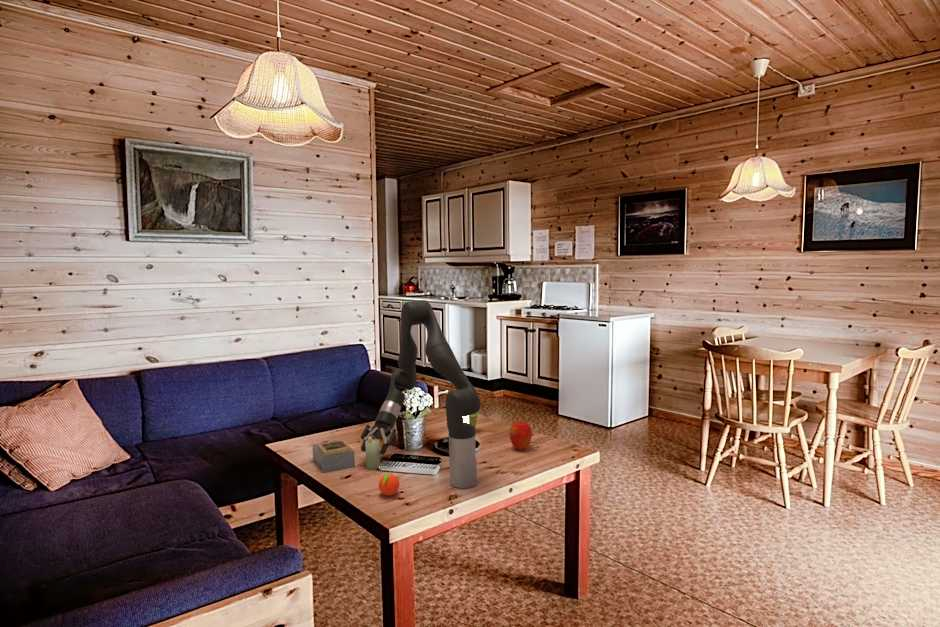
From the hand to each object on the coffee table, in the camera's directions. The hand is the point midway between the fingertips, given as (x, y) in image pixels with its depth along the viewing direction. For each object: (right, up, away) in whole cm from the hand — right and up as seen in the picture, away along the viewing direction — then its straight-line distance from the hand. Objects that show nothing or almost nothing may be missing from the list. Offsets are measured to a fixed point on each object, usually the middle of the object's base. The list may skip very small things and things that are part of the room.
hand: (371, 452), depth 215 cm
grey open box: (-16, -5, +6) cm, 18 cm away
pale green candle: (0, -6, +1) cm, 6 cm away
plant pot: (+36, -1, +40) cm, 54 cm away
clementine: (+10, -9, -24) cm, 28 cm away
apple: (+58, -3, +17) cm, 60 cm away
